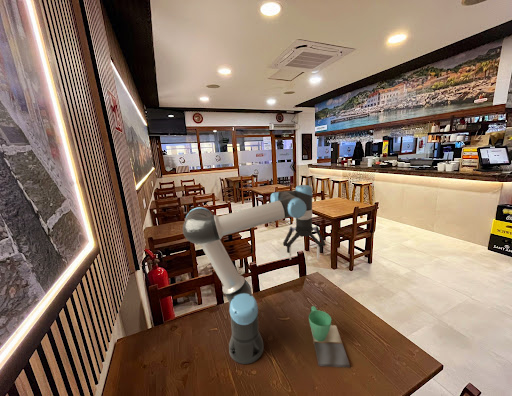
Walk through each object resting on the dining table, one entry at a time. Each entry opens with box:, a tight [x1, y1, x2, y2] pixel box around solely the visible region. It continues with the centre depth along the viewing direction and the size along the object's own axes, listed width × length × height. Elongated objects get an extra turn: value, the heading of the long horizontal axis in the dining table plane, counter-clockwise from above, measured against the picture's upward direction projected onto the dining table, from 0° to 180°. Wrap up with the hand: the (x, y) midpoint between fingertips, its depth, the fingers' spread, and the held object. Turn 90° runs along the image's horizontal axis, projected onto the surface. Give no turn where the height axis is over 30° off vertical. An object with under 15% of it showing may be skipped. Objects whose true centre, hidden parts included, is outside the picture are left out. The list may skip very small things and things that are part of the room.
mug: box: [308, 305, 332, 342], centre depth 102 cm, size 15×10×10 cm
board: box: [310, 324, 351, 368], centre depth 97 cm, size 12×20×2 cm, turn 175°
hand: (304, 258), depth 110 cm, fingers open, 13 cm apart
